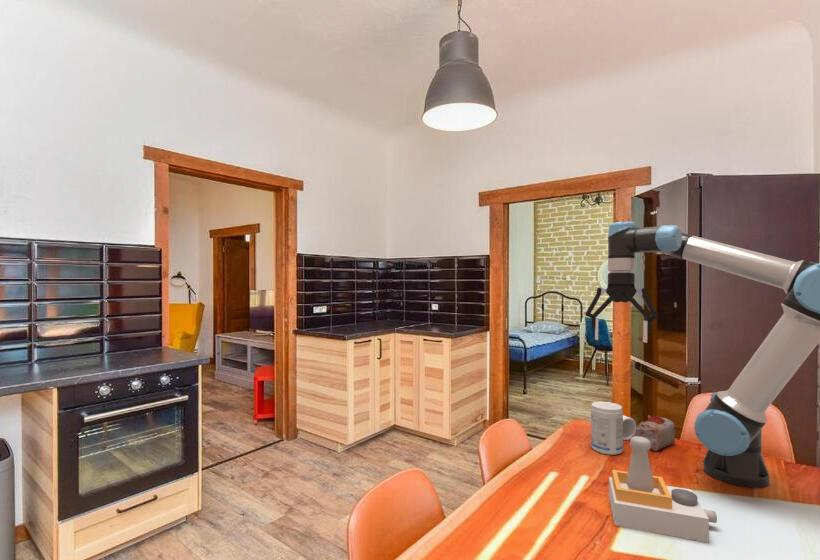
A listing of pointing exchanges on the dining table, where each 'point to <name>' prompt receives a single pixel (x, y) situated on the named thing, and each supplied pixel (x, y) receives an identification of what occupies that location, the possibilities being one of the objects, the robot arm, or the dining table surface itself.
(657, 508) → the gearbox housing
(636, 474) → the salt shaker
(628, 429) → the mug
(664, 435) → the food item
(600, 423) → the supplement tub
